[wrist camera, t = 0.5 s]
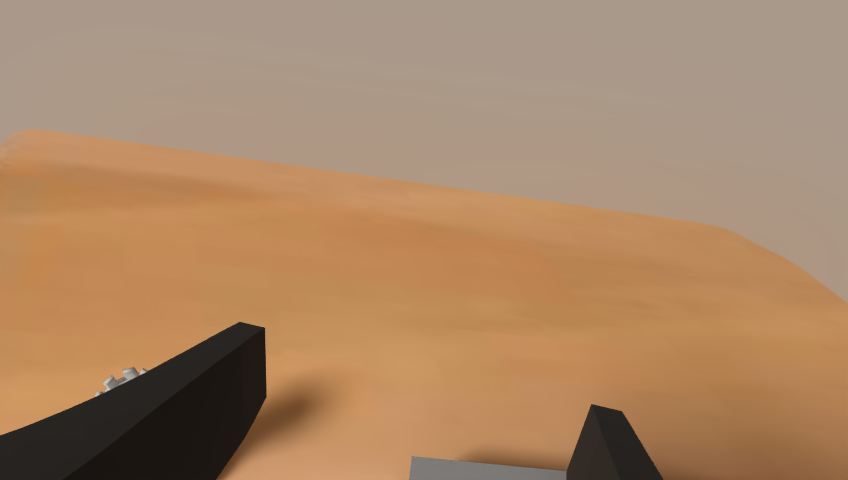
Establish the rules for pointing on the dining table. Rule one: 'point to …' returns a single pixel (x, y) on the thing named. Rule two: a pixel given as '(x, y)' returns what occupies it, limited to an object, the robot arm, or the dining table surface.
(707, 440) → the dining table surface
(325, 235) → the dining table surface
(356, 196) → the dining table surface
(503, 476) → the button board
